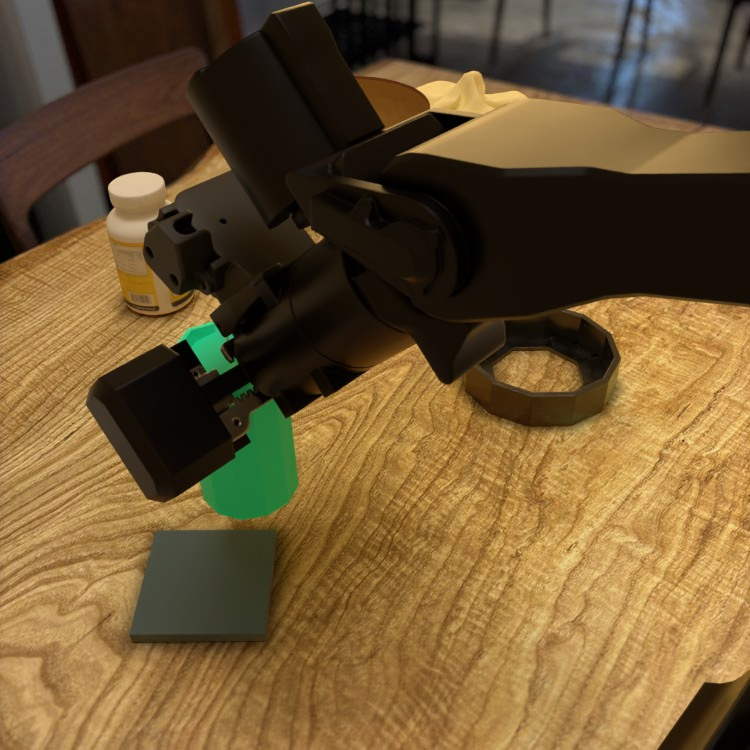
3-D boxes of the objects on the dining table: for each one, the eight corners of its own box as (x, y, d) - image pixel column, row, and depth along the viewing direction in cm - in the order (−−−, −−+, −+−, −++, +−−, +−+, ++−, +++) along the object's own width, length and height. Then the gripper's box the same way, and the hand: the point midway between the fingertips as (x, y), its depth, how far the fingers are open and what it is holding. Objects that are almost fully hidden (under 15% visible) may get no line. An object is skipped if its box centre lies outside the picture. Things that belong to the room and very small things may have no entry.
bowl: (416, 238, 87) (418, 145, 81) (249, 226, 90) (238, 135, 83) (436, 163, 100) (439, 79, 94) (291, 155, 103) (284, 72, 97)
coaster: (277, 536, 57) (276, 528, 56) (265, 641, 51) (264, 633, 50) (157, 538, 57) (155, 529, 56) (131, 642, 51) (128, 634, 50)
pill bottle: (200, 278, 82) (181, 165, 74) (190, 317, 77) (169, 200, 69) (132, 280, 82) (106, 167, 74) (118, 319, 77) (89, 202, 69)
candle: (181, 494, 52) (143, 335, 45) (245, 437, 56) (220, 282, 49) (256, 534, 49) (230, 373, 42) (318, 472, 53) (304, 314, 46)
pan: (628, 424, 65) (635, 394, 63) (470, 427, 65) (473, 397, 63) (560, 237, 87) (564, 210, 85) (442, 239, 87) (443, 213, 85)
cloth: (408, 85, 120) (408, 40, 116) (541, 94, 117) (546, 48, 113) (374, 151, 103) (373, 102, 100) (528, 164, 100) (533, 113, 96)
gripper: (397, 81, 41) (269, 215, 54) (50, 222, 31) (-6, 346, 44) (517, 277, 42) (362, 363, 55) (217, 481, 31) (113, 528, 44)
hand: (222, 392), depth 49 cm, fingers closed on candle, 5 cm apart
